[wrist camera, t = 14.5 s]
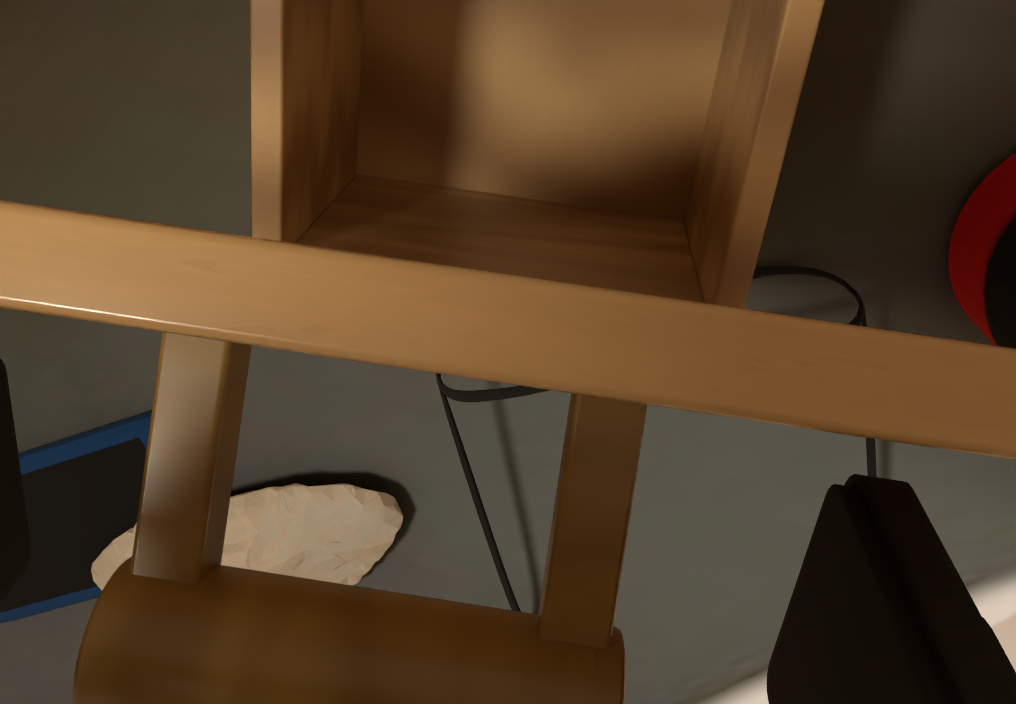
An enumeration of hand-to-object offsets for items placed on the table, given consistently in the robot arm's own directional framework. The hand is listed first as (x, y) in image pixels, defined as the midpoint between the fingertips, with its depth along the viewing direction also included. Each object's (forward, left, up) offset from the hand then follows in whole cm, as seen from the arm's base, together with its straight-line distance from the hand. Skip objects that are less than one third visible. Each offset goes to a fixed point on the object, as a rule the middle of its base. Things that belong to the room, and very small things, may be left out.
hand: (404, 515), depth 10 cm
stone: (+19, -9, -22) cm, 31 cm away
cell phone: (+19, -17, -22) cm, 34 cm away
